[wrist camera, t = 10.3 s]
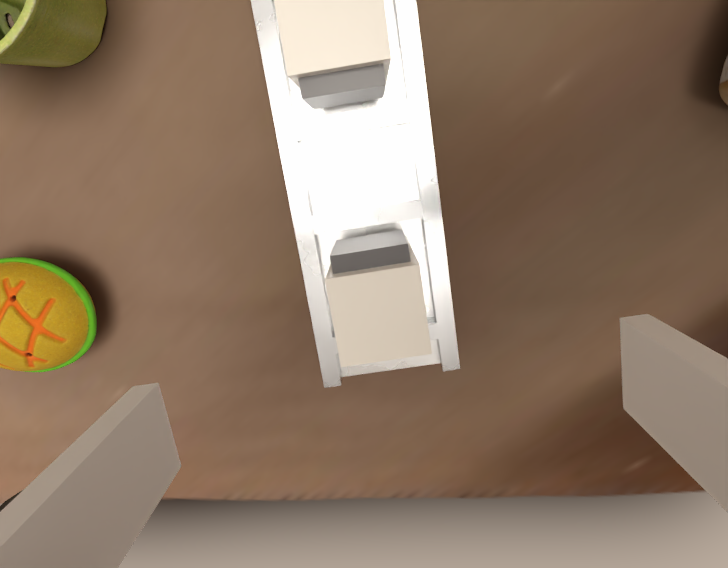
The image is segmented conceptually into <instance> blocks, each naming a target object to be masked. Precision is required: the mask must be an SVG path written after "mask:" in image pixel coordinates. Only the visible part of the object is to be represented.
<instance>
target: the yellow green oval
mask: <svg viewBox="0 0 728 568" xmlns="http://www.w3.org/2000/svg"><path fill="white" fill-rule="evenodd" d="M96 329H97V320H96V312H95V307H94V304H93V301H92V298H91V296H90V294H89V293H88V291H87V290H86V288H85V287H84V286H83V285H82V284H81V283H80V281H79V280H78V279H76V278H75V277H74V276H72V275H71V274H70V273H68V272H67V271H65V270H63V269H62V268H60V267H58V266H56V265H54V264H51V263H48V262H45V261H42V260H38V259H32V258H25V257H13V258H2V259H0V368H4V369H9V370H15V371H25V372H46V371H51V370H55V369H58V368H61V367H64V366H66V365H69V364H71V363H73V362H74V361H76V360H78V359H79V358H80V357H81V356H82V355H84V354H85V353H86V352H87V351H88V349H89V348H90V347H91V345H92V343H93V341H94V339H95V336H96Z"/></svg>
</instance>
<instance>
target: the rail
mask: <svg viewBox="0 0 728 568" xmlns="http://www.w3.org/2000/svg"><path fill="white" fill-rule="evenodd" d="M251 4H252V9H253V14H254V20H255V25H256V30H257V35H258V41H259V46H260V51H261V56H262V62H263V67H264V72H265V78H266V83H267V88H268V93H269V99H270V104H271V109H272V114H273V120H274V125H275V130H276V135H277V141H278V146H279V151H280V156H281V162H282V167H283V172H284V178H285V183H286V188H287V193H288V199H289V204H290V209H291V214H292V220H293V225H294V230H295V235H296V241H297V246H298V251H299V256H300V262H301V267H302V272H303V277H304V283H305V288H306V293H307V299H308V304H309V309H310V314H311V320H312V325H313V330H314V335H315V341H316V346H317V351H318V356H319V362H320V367H321V372H322V377H323V383H324V388H326V387H333V386H341V383H342V377H345V376H352V375H359V374H366V373H373V372H381V371H388V370H395V369H402V368H409V367H416V366H423V365H431V364H438V363H440V364H441V367H442V370H443V371H448V370H456V369H460V363H459V355H458V346H457V338H456V330H455V321H454V313H453V304H452V296H451V288H450V279H449V271H448V263H447V254H446V246H445V238H444V229H443V221H442V212H441V204H440V196H439V187H438V179H437V171H436V162H435V154H434V146H433V137H432V129H431V120H430V112H429V104H428V95H427V87H426V79H425V70H424V62H423V54H422V45H421V37H420V28H419V20H418V12H417V3H416V0H384V5H385V13H386V20H387V28H388V35H389V43H390V50H391V63H390V68H389V73H388V78H387V83H386V88H385V93H384V98H380V99H374V100H368V101H362V102H356V103H350V104H344V105H338V106H332V107H326V108H320V109H313V108H311V107H310V106H309V105H308V104H307V103H306V102H305V101H303V100H302V97H301V91H300V88H299V87H298V86H297V85H296V84H295V83H294V82H293V81H292V80H291V79H290V78H289V77H288V76H287V71H286V65H285V60H284V54H283V48H282V43H281V37H280V32H279V26H278V21H277V15H276V10H275V4H274V0H251ZM396 230H402V231H403V233H404V235H405V236H407V239H408V241H409V243H410V245H411V247H412V249H413V252H414V254H415V256H416V258H417V260H418V262H419V265H420V272H421V279H422V286H423V293H424V300H425V307H426V314H427V321H428V328H429V335H430V342H431V350H432V354H428V355H421V356H414V357H408V358H401V359H394V360H388V361H381V362H374V363H367V364H361V365H354V366H347V367H341V364H340V359H339V353H338V348H337V343H336V338H335V332H334V327H333V322H332V316H331V311H330V306H329V301H328V295H327V290H326V285H325V277H326V274H327V272H328V269H329V267H330V264H331V261H330V254H331V252H332V249H333V247H334V245H335V242H336V240H341V239H347V238H353V237H359V236H365V235H372V234H378V233H384V232H390V231H396Z"/></svg>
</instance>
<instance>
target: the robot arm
mask: <svg viewBox="0 0 728 568" xmlns="http://www.w3.org/2000/svg"><path fill="white" fill-rule="evenodd" d="M620 337H621V363H622V389H623V409H624V410H625V411H626V412H627V413H628V414H629V415H630V416H631V417H632V418H633V419H634V420H635V421H636V422H637V423H638V424H639V425H640V426H641V427H642V428H643V429H644V430H645V431H646V432H647V433H648V434H649V435H650V436H651V437H652V438H653V439H655V440H656V441H657V442H658V443H659V444H660V445H661V446H662V447H663V448H664V449H665V450H666V451H667V452H668V453H669V454H670V455H671V456H672V457H673V458H674V459H675V460H676V461H677V462H678V463H679V464H680V465H681V466H682V467H683V468H684V469H685V470H686V471H687V472H688V473H689V474H690V475H691V476H692V477H693V478H694V479H695V480H696V481H697V482H698V483H699V484H700V485H701V486H702V487H703V488H704V489H705V490H706V491H707V492H708V493H709V494H710V495H711V496H712V497H713V498H714V499H715V500H716V501H717V502H718V503H719V504H720V505H721V506H722V507H723V508H724V509H725V510H726V511H727V512H728V359H727V358H726V357H724V356H722V355H720V354H719V353H717V352H715V351H713V350H711V349H710V348H708V347H706V346H704V345H703V344H701V343H699V342H697V341H695V340H694V339H692V338H690V337H688V336H687V335H685V334H683V333H681V332H679V331H678V330H676V329H674V328H672V327H671V326H669V325H667V324H665V323H663V322H662V321H660V320H658V319H656V318H655V317H653V316H651V315H649V314H643V315H636V316H629V317H622V318H620ZM180 468H181V463H180V459H179V456H178V452H177V448H176V445H175V441H174V437H173V434H172V430H171V426H170V423H169V419H168V416H167V412H166V408H165V405H164V401H163V397H162V394H161V390H160V386H159V383H153V384H146V385H139V386H133V387H132V388H131V389H130V390H129V391H127V392H126V393H125V394H124V395H123V396H122V397H121V398H120V399H119V400H118V401H117V402H116V403H115V404H114V405H113V406H112V407H111V408H109V409H108V410H107V411H106V412H105V413H104V414H103V415H102V416H101V417H100V418H99V419H98V420H97V421H96V422H95V423H94V424H93V425H92V426H90V427H89V428H88V429H87V430H86V431H85V432H84V433H83V434H82V435H81V436H80V437H79V438H78V439H77V440H76V441H75V442H74V443H72V444H71V445H70V446H69V447H68V448H67V449H66V450H65V451H64V452H63V453H62V454H61V455H60V456H59V457H58V458H57V459H56V460H55V461H53V462H52V463H51V464H50V465H49V466H48V467H47V468H46V469H45V470H44V471H43V472H42V473H41V474H40V475H39V476H38V477H37V478H35V479H34V480H33V481H32V482H31V483H30V484H29V485H28V486H27V487H26V488H25V489H24V490H22V491H21V492H19V493H17V494H16V495H14V496H13V497H11V498H10V499H8V500H7V501H5V502H4V503H3V504H2V505H1V506H0V568H118V567H119V565H120V564H121V562H122V561H123V559H124V557H125V556H126V554H127V552H128V551H129V549H130V548H131V546H132V544H133V543H134V541H135V540H136V538H137V536H138V535H139V533H140V532H141V530H142V528H143V527H144V525H145V524H146V522H147V520H148V519H149V517H150V516H151V514H152V512H153V511H154V509H155V508H156V506H157V504H158V503H159V501H160V500H161V498H162V496H163V495H164V493H165V492H166V490H167V488H168V487H169V485H170V484H171V482H172V480H173V479H174V477H175V476H176V474H177V472H178V471H179V469H180Z"/></svg>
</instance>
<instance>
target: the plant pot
mask: <svg viewBox="0 0 728 568" xmlns="http://www.w3.org/2000/svg"><path fill="white" fill-rule="evenodd" d="M7 13H9V14H10V15H11V16H12V20H13V21H14V26H13V27H12V28H11V29H10V28H9V26H8V24H7V21H6V14H7ZM106 14H107V9H106V1H105V0H0V63H2V64H16V65H31V66H44V67H65V66H70V65H74V64H76V63H79V62H80V61H82V60H84V59H85V58H86V57H88V56H89V55H90V54H91V53H92V52H93V51H94V50H95V49H96V47H97V46H98V44H99V42H100V40H101V34H102V29H103V25H104V21H105V17H106Z"/></svg>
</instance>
